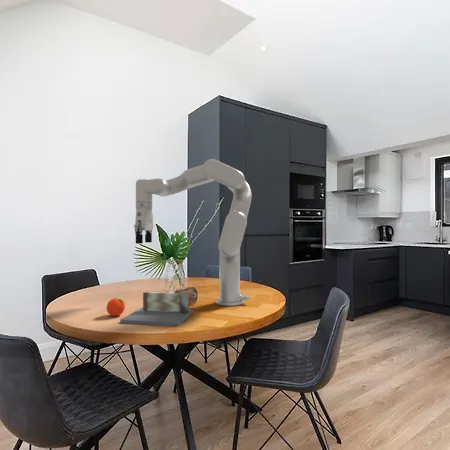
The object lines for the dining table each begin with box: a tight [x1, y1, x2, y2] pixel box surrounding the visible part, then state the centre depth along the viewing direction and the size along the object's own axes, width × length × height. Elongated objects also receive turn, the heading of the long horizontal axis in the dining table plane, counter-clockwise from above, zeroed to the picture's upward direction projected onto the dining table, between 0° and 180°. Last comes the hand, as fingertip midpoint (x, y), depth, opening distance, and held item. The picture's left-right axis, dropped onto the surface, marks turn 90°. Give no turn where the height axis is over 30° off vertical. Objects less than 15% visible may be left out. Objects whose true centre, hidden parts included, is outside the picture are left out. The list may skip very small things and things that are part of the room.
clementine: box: [106, 297, 127, 317], centre depth 131 cm, size 8×7×7 cm
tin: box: [173, 286, 198, 309], centre depth 146 cm, size 15×3×8 cm, turn 148°
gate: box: [142, 291, 180, 312], centre depth 133 cm, size 15×2×7 cm, turn 80°
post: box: [181, 291, 189, 314], centre depth 131 cm, size 3×3×10 cm
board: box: [119, 306, 194, 327], centre depth 128 cm, size 22×19×1 cm
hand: (143, 242), depth 155 cm, fingers open, 9 cm apart
